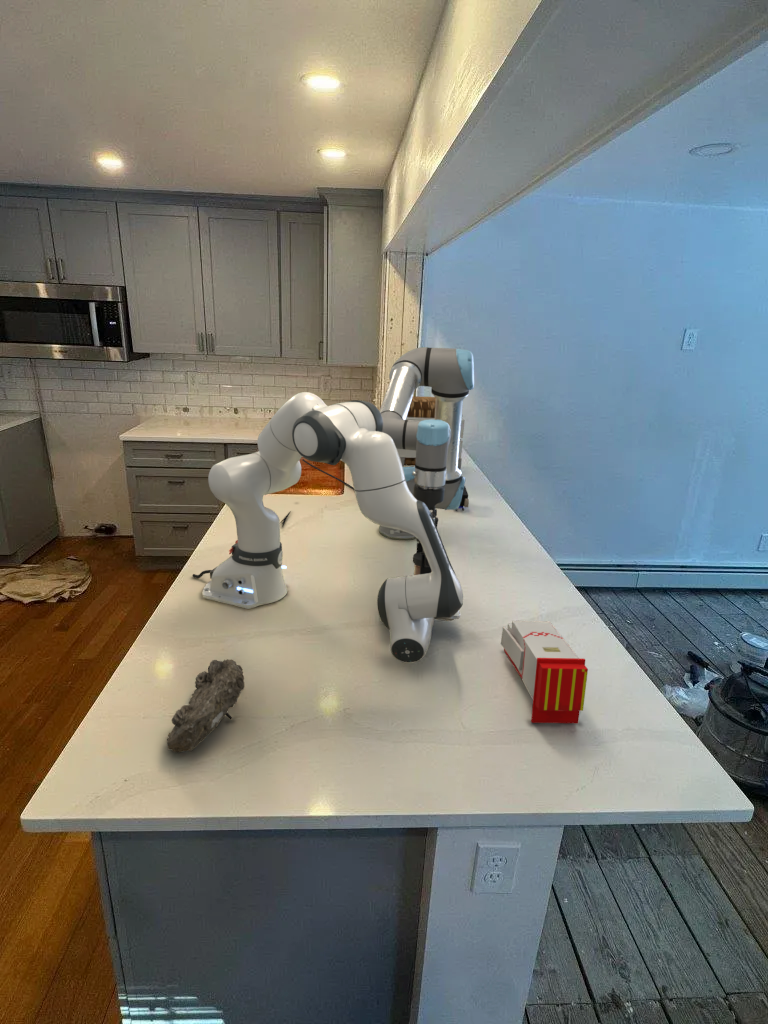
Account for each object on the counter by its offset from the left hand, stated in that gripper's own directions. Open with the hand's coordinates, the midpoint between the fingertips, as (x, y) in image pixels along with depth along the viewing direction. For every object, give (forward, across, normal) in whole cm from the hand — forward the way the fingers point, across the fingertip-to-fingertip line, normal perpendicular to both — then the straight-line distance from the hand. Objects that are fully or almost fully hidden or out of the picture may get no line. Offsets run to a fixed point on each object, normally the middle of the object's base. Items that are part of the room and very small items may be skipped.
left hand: (421, 588), depth 148 cm
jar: (-1, 0, +6) cm, 6 cm away
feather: (+60, +56, +6) cm, 82 cm away
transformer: (+132, +14, +6) cm, 133 cm away
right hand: (-1, 0, -5) cm, 5 cm away
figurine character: (+87, -6, +6) cm, 88 cm away
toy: (-25, -28, +6) cm, 38 cm away
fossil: (-50, +34, +6) cm, 61 cm away
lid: (-1, 0, -9) cm, 9 cm away
